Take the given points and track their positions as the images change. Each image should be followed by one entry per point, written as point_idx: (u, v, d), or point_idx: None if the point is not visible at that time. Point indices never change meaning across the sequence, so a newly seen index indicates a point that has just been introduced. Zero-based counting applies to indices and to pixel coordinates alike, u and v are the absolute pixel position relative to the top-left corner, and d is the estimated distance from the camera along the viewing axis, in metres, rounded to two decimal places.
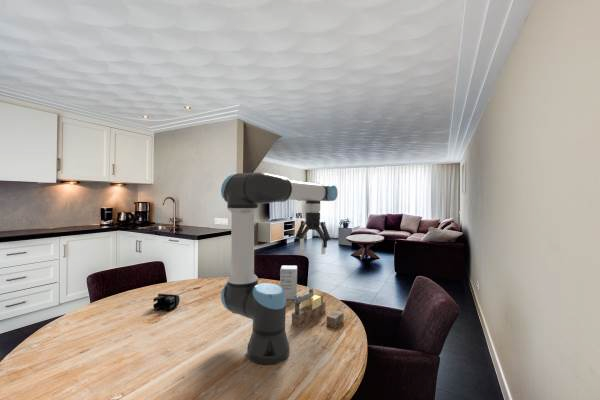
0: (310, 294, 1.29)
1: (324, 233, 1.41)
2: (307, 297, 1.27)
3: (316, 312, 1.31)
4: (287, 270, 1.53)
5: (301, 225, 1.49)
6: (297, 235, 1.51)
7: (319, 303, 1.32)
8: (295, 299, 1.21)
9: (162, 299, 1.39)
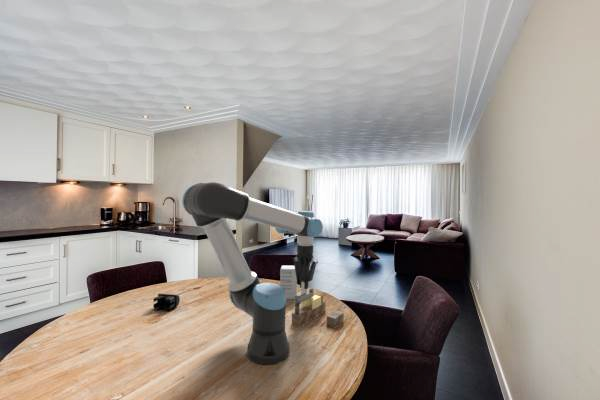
0: (310, 294, 1.29)
1: (309, 273, 1.25)
2: (307, 297, 1.27)
3: (316, 312, 1.31)
4: (287, 270, 1.53)
5: (295, 263, 1.30)
6: (297, 276, 1.29)
7: (319, 303, 1.32)
8: (295, 299, 1.21)
9: (162, 299, 1.39)
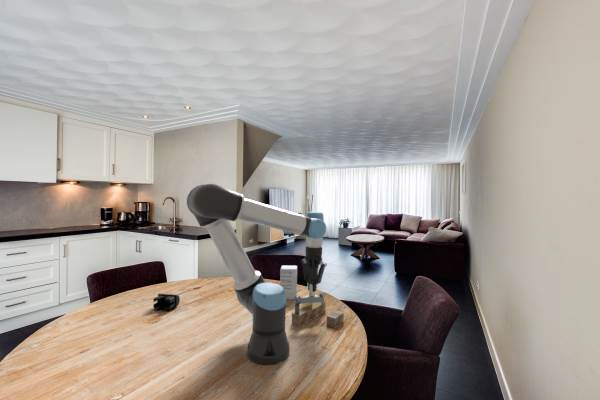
0: (318, 299, 1.23)
1: (318, 275, 1.23)
2: (312, 301, 1.23)
3: (316, 312, 1.31)
4: (287, 270, 1.54)
5: (303, 265, 1.27)
6: (305, 278, 1.26)
7: (319, 303, 1.32)
8: (294, 298, 1.21)
9: (162, 299, 1.39)
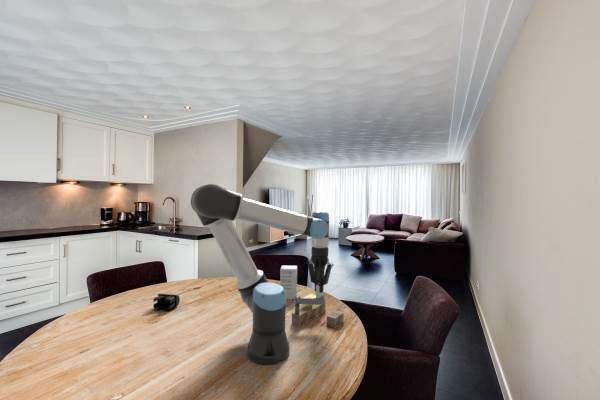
0: (318, 301, 1.21)
1: (325, 276, 1.21)
2: (312, 302, 1.21)
3: (316, 312, 1.31)
4: (287, 270, 1.53)
5: (309, 266, 1.26)
6: (312, 279, 1.25)
7: None
8: (294, 298, 1.22)
9: (162, 299, 1.39)
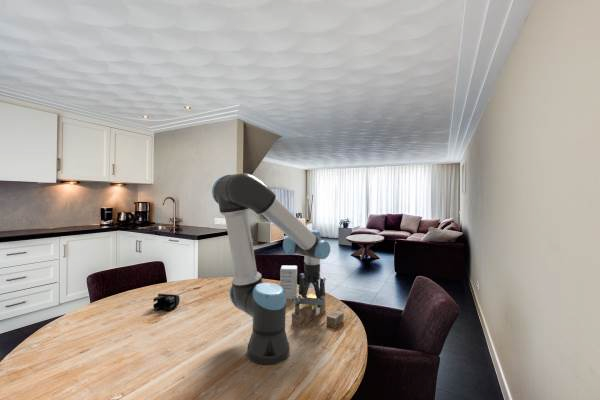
0: (318, 301, 1.20)
1: (320, 291, 1.27)
2: (312, 302, 1.21)
3: None
4: (287, 270, 1.53)
5: (300, 279, 1.34)
6: (300, 292, 1.34)
7: None
8: None
9: (162, 299, 1.39)
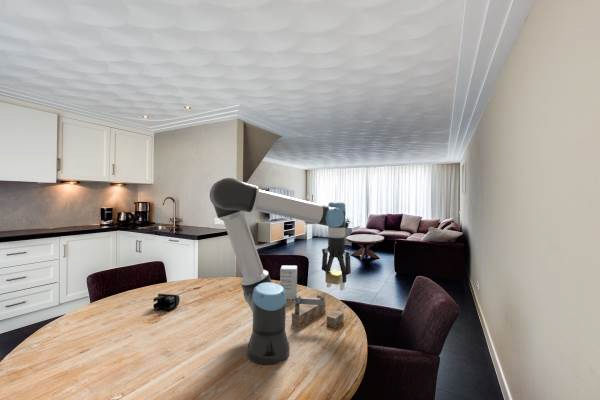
0: (318, 301, 1.20)
1: (346, 265, 1.20)
2: (312, 302, 1.21)
3: (316, 312, 1.31)
4: (287, 270, 1.53)
5: (324, 254, 1.27)
6: (323, 268, 1.27)
7: None
8: None
9: (162, 299, 1.39)
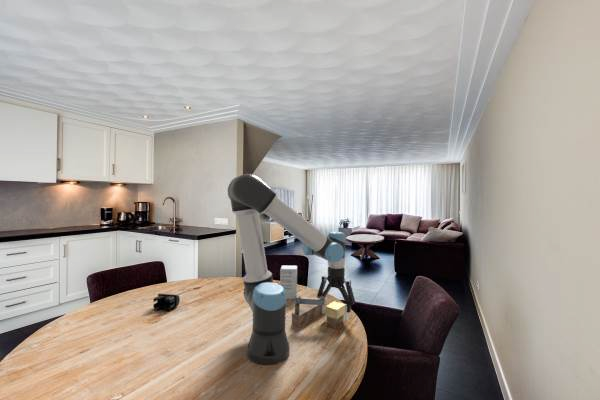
0: (318, 301, 1.20)
1: (349, 295, 1.19)
2: (312, 302, 1.21)
3: (316, 312, 1.31)
4: (287, 270, 1.53)
5: (322, 282, 1.27)
6: (319, 294, 1.28)
7: (343, 311, 1.25)
8: None
9: (162, 299, 1.39)
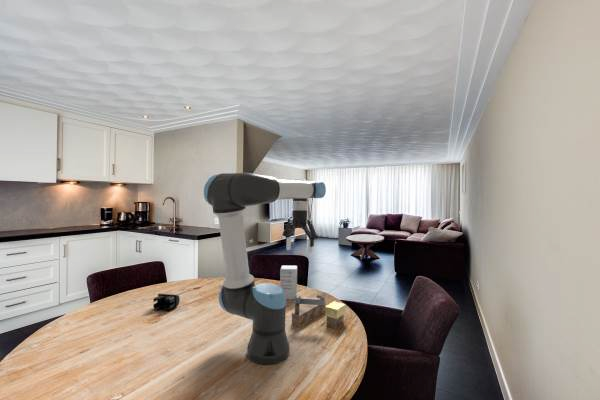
0: (318, 301, 1.20)
1: (311, 231, 1.36)
2: (312, 302, 1.21)
3: (316, 312, 1.31)
4: (287, 270, 1.53)
5: (288, 223, 1.44)
6: (284, 234, 1.46)
7: (343, 311, 1.25)
8: None
9: (162, 299, 1.39)
